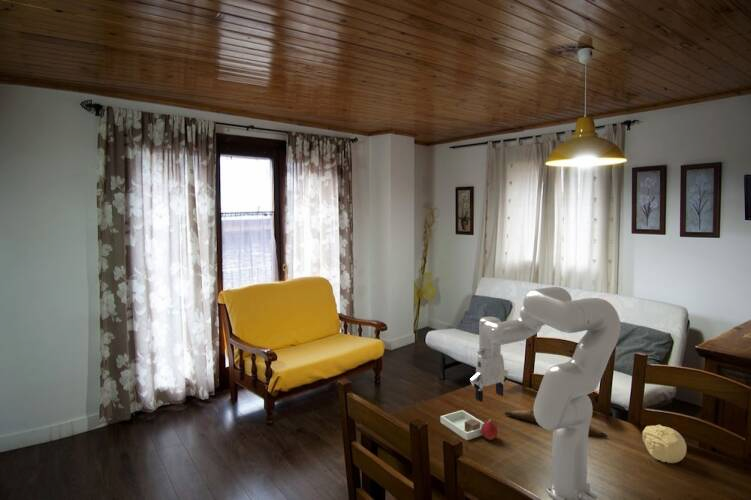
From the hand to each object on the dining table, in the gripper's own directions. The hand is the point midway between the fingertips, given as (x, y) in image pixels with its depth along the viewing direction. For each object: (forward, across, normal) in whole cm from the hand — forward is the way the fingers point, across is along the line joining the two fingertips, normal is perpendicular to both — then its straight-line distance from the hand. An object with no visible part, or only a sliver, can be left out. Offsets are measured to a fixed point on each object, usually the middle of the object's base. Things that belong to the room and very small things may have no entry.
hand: (489, 397), depth 165 cm
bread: (+17, +29, -4) cm, 34 cm away
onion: (+16, 0, 0) cm, 17 cm away
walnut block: (+15, -2, +6) cm, 17 cm away
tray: (+16, -2, +11) cm, 20 cm away
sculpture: (+16, +43, -38) cm, 60 cm away
